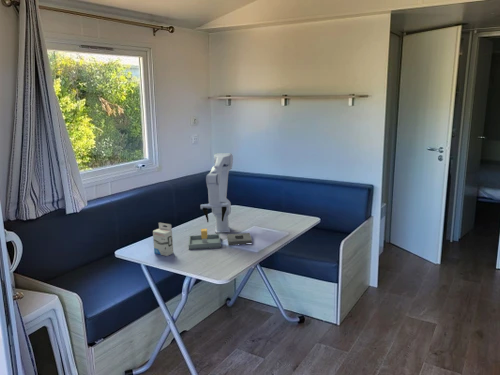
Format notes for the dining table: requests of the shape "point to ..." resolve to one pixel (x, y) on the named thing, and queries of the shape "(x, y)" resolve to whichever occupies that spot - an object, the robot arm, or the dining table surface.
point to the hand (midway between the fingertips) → (215, 221)
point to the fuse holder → (239, 238)
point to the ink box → (163, 240)
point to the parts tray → (196, 243)
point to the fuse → (204, 235)
